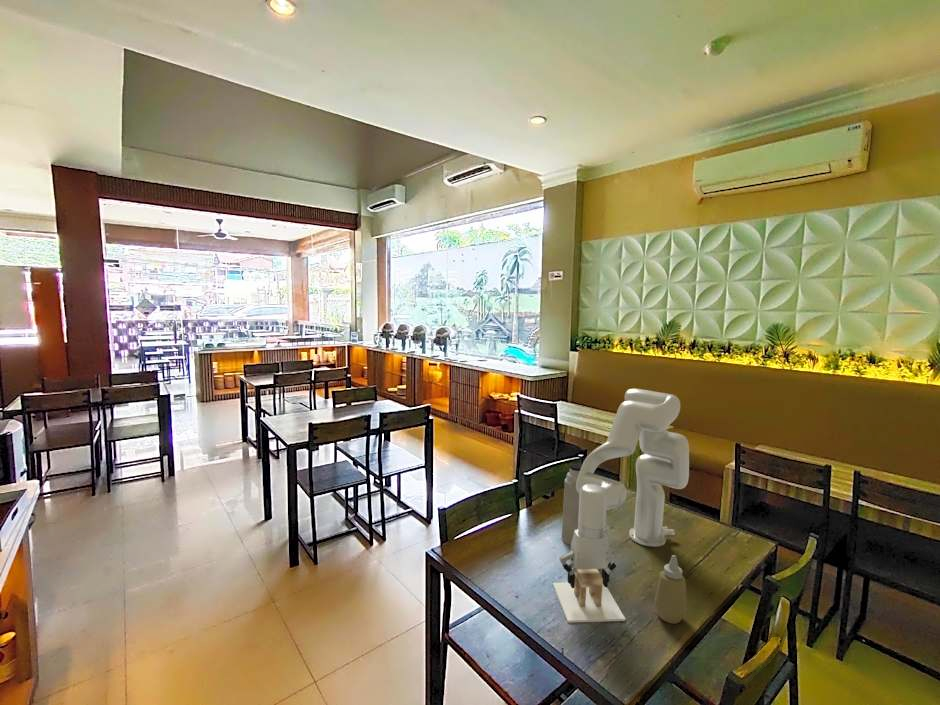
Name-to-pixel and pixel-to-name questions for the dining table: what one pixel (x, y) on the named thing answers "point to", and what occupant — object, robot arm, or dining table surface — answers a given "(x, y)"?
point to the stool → (588, 585)
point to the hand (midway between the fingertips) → (587, 584)
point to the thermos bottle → (570, 504)
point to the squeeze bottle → (671, 593)
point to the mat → (587, 605)
